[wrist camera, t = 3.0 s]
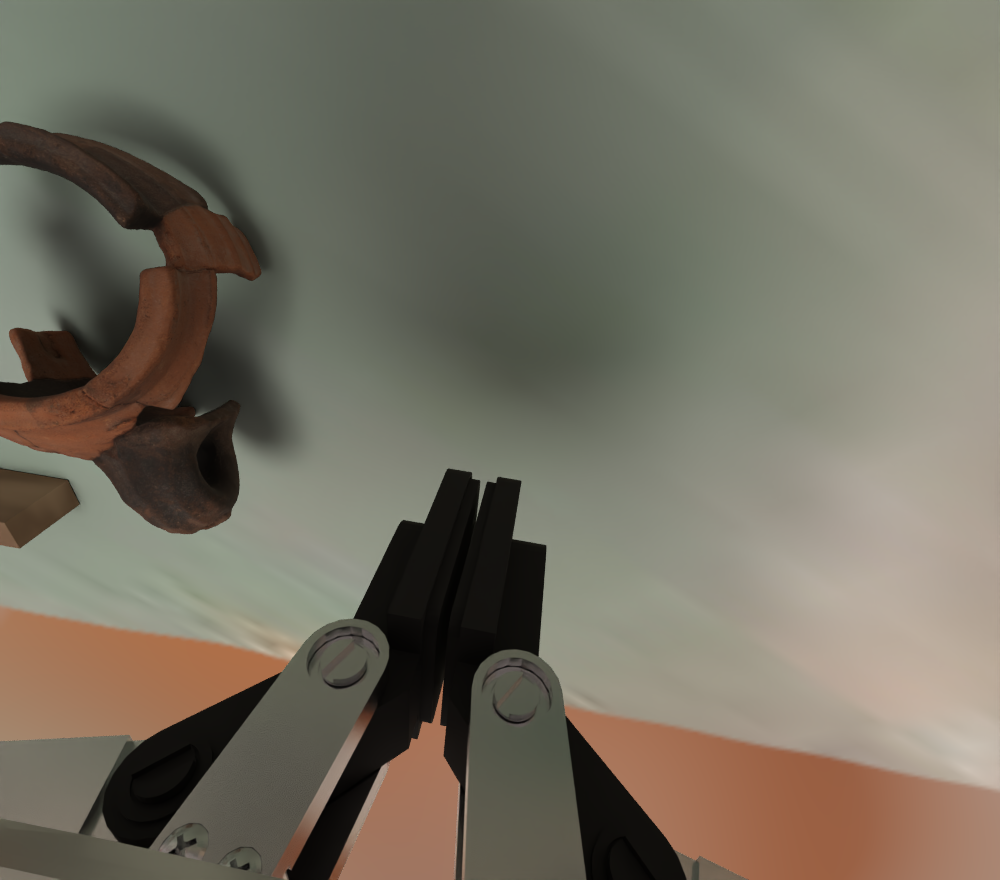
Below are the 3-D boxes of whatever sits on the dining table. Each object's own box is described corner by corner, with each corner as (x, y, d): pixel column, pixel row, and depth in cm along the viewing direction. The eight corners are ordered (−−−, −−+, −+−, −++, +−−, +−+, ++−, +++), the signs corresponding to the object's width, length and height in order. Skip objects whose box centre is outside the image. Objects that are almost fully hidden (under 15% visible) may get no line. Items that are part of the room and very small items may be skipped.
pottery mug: (-7, 277, 18) (-358, 186, 10) (222, 166, 19) (71, -2, 11) (180, 541, 20) (15, 644, 12) (380, 430, 21) (352, 456, 13)
